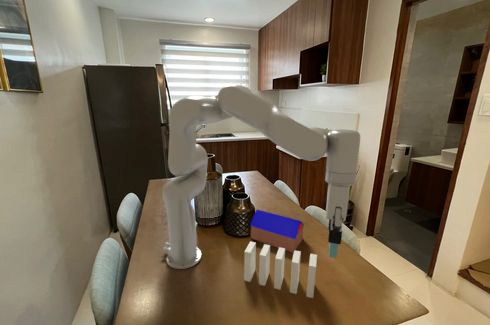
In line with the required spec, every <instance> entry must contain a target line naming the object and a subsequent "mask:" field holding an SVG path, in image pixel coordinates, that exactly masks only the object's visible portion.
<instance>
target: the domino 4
mask: <svg viewBox="0 0 490 325" xmlns="http://www.w3.org/2000/svg"><path fill="white" fill-rule="evenodd" d="M301 253H302V251H301V250H297V249H296V250H294V253H292V254H293V255H292V260H291V267H290V268H291V269H290V286H289V293H291V294H295V295H297V293H298V287H299V283H300V282H299V281H300V268H301V255H302V254H301Z"/></svg>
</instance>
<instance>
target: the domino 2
mask: <svg viewBox="0 0 490 325" xmlns="http://www.w3.org/2000/svg"><path fill="white" fill-rule="evenodd" d="M270 261H271V245H269V244H266V243H263V247H262V248H261V250H260V252H259V262H258V263H259V264H258V266H259V267H258V268H259V269H258V270H259V271H258V285H260V286H264V287H265V286H266V285H267V284H266V283H267V282H268V281H267V280H268V278H269V275H270V267H271V266H270V265H271V264H270V263H271V262H270Z"/></svg>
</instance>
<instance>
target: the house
mask: <svg viewBox="0 0 490 325" xmlns="http://www.w3.org/2000/svg"><path fill="white" fill-rule="evenodd" d="M249 226H250V239H252V240H255V241H257V242H259V243H260V242H261V243H263V244H266V245H270V246H272V247H276V248H278V249H279V247H281V248H285V251H287V252H290V253H292V254H294V250H296V251H297V249H298V247H299V245H300V244H301V243H302V240H303V237H304V226H305V224H304V223H303V222H302V220H299V219H296V218H290V217H287V216H283V215H280V214H276V213H272V212H268V211H264V210H260V209H256V210H255V212H254V215H253V217H252V220H251V222H250V225H249Z"/></svg>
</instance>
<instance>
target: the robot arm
mask: <svg viewBox="0 0 490 325" xmlns="http://www.w3.org/2000/svg"><path fill="white" fill-rule="evenodd" d="M231 118H234V119H237V120H238V121H240V122H241V123H244V124H246V125H248V126H249V127H251V128H252V129H255V130H257V131H258V132H260V133H261V134H263V135H264V137H266V138H267V139H269V140H270V141H271V142H272V143H274V144H275V145H276V146H278V147H280V148H281V149H283V150H285V151H286V152H288V153H290V154H292V155H294V156H296V157H297V158H299V159H302V160H304V161H308V162H313V161H318V160H320V159H321V158H323V157H324V156H325V154H326V166H325V178H324V181H325V183H327V184H328V185H327V191H326V192H327V194H326V206H325V219H327V220H328V228H327V229H328V243H335V244H338V245H341V243H342V237H343V236H342V235H343V222H345V221H346V218H347V214H348V206H349V198H350V189H351V187H352V186H354V185H355V184H356V178H357V171H358V170H357V169H358V163H359V161H358V160H359V154H360V144H361V134H360V132H359V131H357V130H353V129H327V128H322V127H310V128H309V127H308V126H306V125H304V124H302V123H300V122H298V121H296V120H295V119H293V118H291V117H290V116H288V115H287V114H285V113H284V112H283V111H282V110H281V108H280V106H278V105H277V104H275V103H273V102H271V101H269V100H268V99H265V98H263V97H261V96H259V95H257V94H255V93H253V92H252V90H251V89H250V88H249V87H246V86H244V85H239V84H234V83H230V84H226V85H224V86H223V87H222V88H220V89H219V92H218V93H217V95H214V96H210V97H209V96H198V95H197V96H194V95H193V96H186V97H184V98H181V99H178V101H176V102H175V103H174V104H173V105H172V107H171V109H170V110H169V115H168V124H169V125H168V126H169V127H168V128H169V138H168V139H169V140H168V156H167V157H168V158H167V164H168V165H167V166H168V170H169V172H170V173H171V174H172V175H174V176H176V177H175V178H173V179H170V180H169V181H168V182H167V183H165V185H164V187H163V189H162V199H163V202H164V206H165V209H166V210H165V211H166V214H167V228H168V237H169V242H167V241H166V242H164V244H163V248H162V252H167V253H168V254H167V256H166V263H167V265H168V266H169V267H170V268H172V269H176V270H185V269H188V268H191V267H192V268H193V267H194V266H195V265H197V264H198V263H199V262H200V261H201V258H202V251H201V250H200V248H198V246H197V230H196V229H197V228H196V226H197V224H196V214H195V209H194V207H193V205H192V200H193V199H195V198H196V197H197V196H200V194H202V192H203V191H204V189H205V187H206V184H207V174H208V164H209V162H208V161H209V159H208V154H207V151H206V149H205V148H204V147H203V146H202V145H201V144H199V143H197V131H196V128H195V126H202V125H209V124H215V123H218V122H221V121H222V122H223V121H225V120H228V119H231ZM333 216H334V217H335V219H334V218H333ZM333 221H335V224H333Z"/></svg>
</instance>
